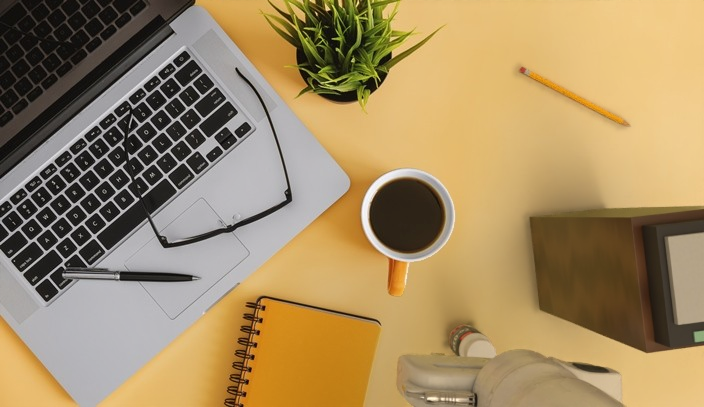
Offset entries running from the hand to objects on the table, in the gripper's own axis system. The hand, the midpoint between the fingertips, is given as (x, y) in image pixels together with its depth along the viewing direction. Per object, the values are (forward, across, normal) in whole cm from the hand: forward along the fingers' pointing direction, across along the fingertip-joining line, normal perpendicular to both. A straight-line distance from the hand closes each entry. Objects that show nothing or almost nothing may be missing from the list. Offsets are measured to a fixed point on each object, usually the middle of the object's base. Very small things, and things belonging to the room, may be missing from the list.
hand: (477, 362), depth 61 cm
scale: (-7, +20, +11) cm, 24 cm away
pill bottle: (+20, +4, -2) cm, 20 cm away
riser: (+19, +20, +11) cm, 30 cm away
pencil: (+20, +19, +36) cm, 45 cm away
